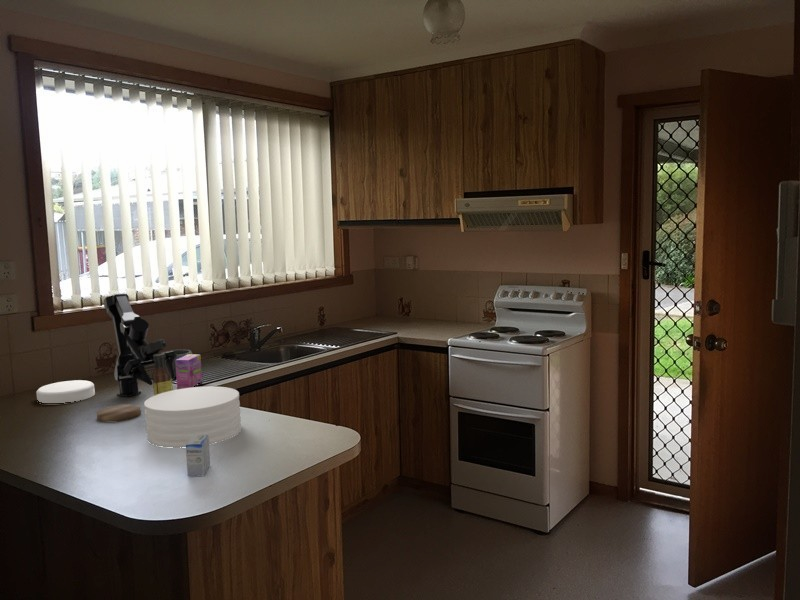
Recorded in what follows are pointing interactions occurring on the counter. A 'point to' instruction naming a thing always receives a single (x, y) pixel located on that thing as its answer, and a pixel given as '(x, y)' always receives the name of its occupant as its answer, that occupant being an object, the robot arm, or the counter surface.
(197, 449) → the medicine box
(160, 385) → the sauce bottle
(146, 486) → the counter surface
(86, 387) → the container
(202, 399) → the plate stack
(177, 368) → the box
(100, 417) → the stand
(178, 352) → the bowl
